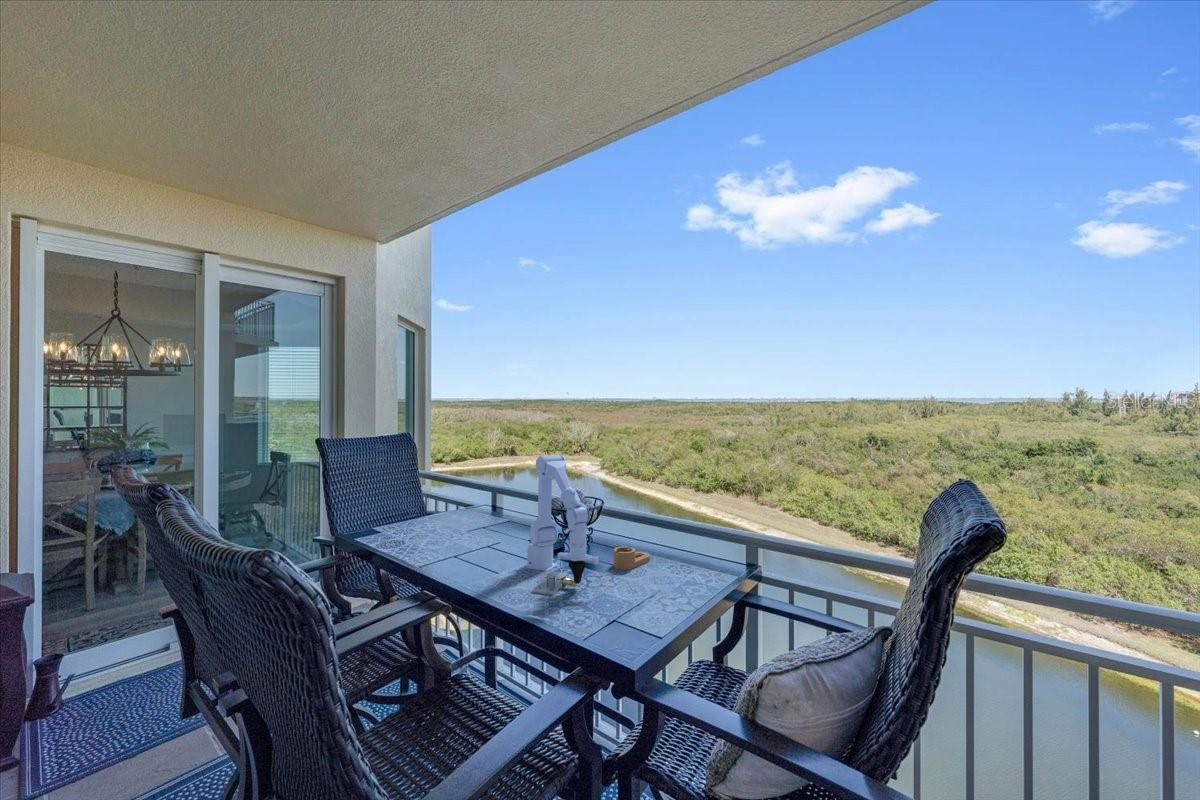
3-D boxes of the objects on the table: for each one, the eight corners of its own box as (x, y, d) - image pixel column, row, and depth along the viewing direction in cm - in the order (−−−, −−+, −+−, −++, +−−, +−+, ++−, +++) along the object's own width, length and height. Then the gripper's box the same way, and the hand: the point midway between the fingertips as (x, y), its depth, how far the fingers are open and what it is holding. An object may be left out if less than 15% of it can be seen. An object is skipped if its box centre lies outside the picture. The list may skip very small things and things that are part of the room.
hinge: (532, 592, 159) (532, 580, 159) (554, 575, 174) (554, 564, 174) (552, 595, 156) (552, 583, 156) (573, 578, 171) (573, 567, 171)
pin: (550, 584, 164) (550, 577, 164) (553, 581, 167) (553, 574, 167) (573, 588, 161) (573, 580, 161) (576, 585, 163) (576, 578, 163)
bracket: (626, 573, 178) (626, 554, 178) (609, 568, 183) (609, 550, 183) (654, 561, 191) (654, 544, 191) (637, 557, 197) (637, 540, 197)
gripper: (553, 543, 161) (553, 583, 161) (593, 548, 156) (593, 589, 155) (562, 537, 167) (562, 576, 167) (601, 542, 162) (601, 582, 162)
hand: (577, 582), depth 162 cm, fingers closed
